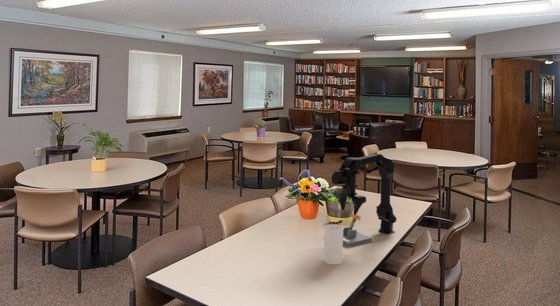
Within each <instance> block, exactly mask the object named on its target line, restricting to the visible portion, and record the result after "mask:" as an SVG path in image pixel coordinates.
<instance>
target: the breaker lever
mask: <svg viewBox="0 0 560 306" xmlns="http://www.w3.org/2000/svg"><path fill="white" fill-rule="evenodd" d="M350 218H352V220H351V222H350V225H349V226H348V227H349V229H348V231H349V230H353V228H354V226H355V224H356V221H359V222H360V221H361V216H360V215H358V214H356V215H354V212H353V213H351V215H350ZM348 231H347V232H348Z"/></svg>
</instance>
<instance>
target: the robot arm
mask: <svg viewBox="0 0 560 306" xmlns="http://www.w3.org/2000/svg"><path fill="white" fill-rule="evenodd" d="M371 164H375V166H377V171H378V174H379V175H380V202H379V205H376V208H375V209H376V211H375V214H376V216H377V218H378V220H380V226H379V227H380V229H378V232H380V233H384V234H386V235H387V234H388V235H389V234H392V233H395V230H394V229H393V228H394V224H395V223H396V222H397V220H398V219H397V217H396V216H395V214H394V209H393V206H392V205H391V180H392V179H391V178H392V176H393V174H394V172H395V163H394V162H392V161H391V160H390V159H388V158H386V157H385V156H384V155H383V154H382V153H377V152H376V153H373V154H369V155H363V156H360V157H345V159H344V160H343V162H342V164H341V165H340V167H339V169H338V170H334V173H332V175H331V182H332V184H333V185H335V186H336V185H341V188H338V189H336V190H334V192H333V196H334V197H335V199H337V200H338V202H339V204H340V209H341V210H342V211H343V210H344V211H345V208H346V205H347V204H346V203H347V199H348V198H349V199H351V200H352V202H351V204H352V205H353V214H354V215H358V212H359V210H360V209H361V207H362V205H363V204H365V203H367V197H366V196H364V195H361V194H359V195H358V192H356V188H358V187H359V186H358V184H357V175H359V174H360V173H361V172H360V171H359V169H361V168H362V167H363V166H366V165H371Z"/></svg>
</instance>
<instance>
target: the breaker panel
mask: <svg viewBox="0 0 560 306" xmlns="http://www.w3.org/2000/svg"><path fill="white" fill-rule="evenodd" d="M348 229H349V226H343V246H345V247H347V248H350V247H356V246H359V245H363V244H369V243H371V242H373V238H372V237H371V236H368V235H366V234H363V233H361V232H358V230H357V229H352V230H349V231H348ZM347 231H348V232H347Z"/></svg>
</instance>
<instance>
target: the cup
mask: <svg viewBox="0 0 560 306" xmlns="http://www.w3.org/2000/svg"><path fill="white" fill-rule="evenodd" d="M343 227H344V226H343V225H341V224H338V223H331V224H325V226H324V241H323V242H324V244H323V262H324V263H325V264H328V265H332V264H333V265H334V266H336V265H341V264H342V263H343V246H344V245H343Z"/></svg>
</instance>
